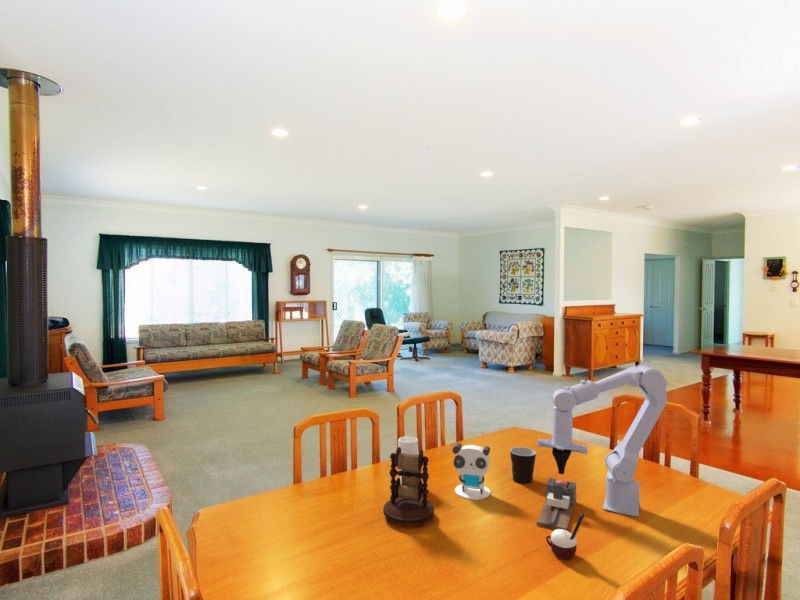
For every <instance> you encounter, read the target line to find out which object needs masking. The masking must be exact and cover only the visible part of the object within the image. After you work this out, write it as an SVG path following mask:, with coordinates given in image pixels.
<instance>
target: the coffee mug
mask: <svg viewBox="0 0 800 600" xmlns="http://www.w3.org/2000/svg"><path fill="white" fill-rule="evenodd" d="M509 451H510V452H509V455H510V463H511V473H512V480H513V482H515V483H517V484H520V483H521V485H529V484H531V482H532V483H533V477H534V471H535V463H536V456H537V452H536V451H535V450H534V449H532V448H530V447H525V446H516V447H512V448H510V450H509Z"/></svg>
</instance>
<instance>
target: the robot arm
mask: <svg viewBox="0 0 800 600" xmlns="http://www.w3.org/2000/svg"><path fill="white" fill-rule="evenodd" d="M579 382H580V383H577V384H574V385H572V386H569V385H568V386H565V389H563V388H559V389H557V390H555V391H554V392H553V393H552V396H551V401H552V403H553V410H552V438H551V439H542V438H538V439H537V441H536V442H537V443H536V445H537V446H536V447H537V448H549V449H552V451H551V453H552V456H553V458H554V460H555V462H556V465H557V470H558V474H560V475H564V474H565V470H566V466H567V462H568V460H569V458H570V457H571V454H572V452H573V453H578V454H583V455H588V450H589V446H587V445H582V444H578V443H575V442H573V418H574V417H573V409H574V407H575V406H579V405H582V404H585V403H587V402H590V401H593V400H597V399H598V397H599V395H600V393H602V392H603V393H604V392H606V391H610V390H614V389H616V388H619V387H624V386H626V385H627V386H630V387H631V386H632V387H636V388H640V390H641V392H642V394H643V397H644V398H645V399H644V401H643V403H642V405H641V407H640V408H639V410H638V412H637V414H636V416H635V417H634V420H633V421H632V423H631V425H630V427H629V428H628V430H627V431H626V434H625V435H624V437H623V439H622V441H621V443H620V444H618V445H616V446H615V447H614V449H613V450H611V452H610V453H608V454H607V455H606V456H605V458H604V462H605V466H606V468H607V469H608V471H607V473H606V475H605V476H606V477H605V480H606V481H605V498H604V502H603V507H602V508H603V510H604V511H608V512H613V513H617V514H623V515H628V516H633V517H640V513H639V512H640V508H641V500H640V489H641V487H640V485H641V483H640V481H636V480H634V478H635V476H636V468H637V466H638V463H639V461H638V458H639V456H638V455H639V453H640V451H641V450H642V448H643V446H644V445H645V443H646V441H647V440H648V437H649V436H650V434H651V432H652V430H653V429H654V427H655V425H656V423H657V421H658V419H659V418H660V416H661V414H662V412H663V411H664V408H665V407H666V405H667V403H668V398H667V386H668V382H667V380H666V378H665V376H664V375H663V373H662V372H661V371H660V370H657V369H655V368H653V367H651V366H650V365H649V364H645V363H642V364H638V365H636V366H630V367H628V368H626V369H623V370H622V371H619V372H617V373H614V374H611V375H609V376H606V377H605V378H602V379H600V380H597V381H591V380H589V379H587V380H585V379H582V380H580V381H579Z"/></svg>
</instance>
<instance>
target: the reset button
mask: <svg viewBox="0 0 800 600" xmlns="http://www.w3.org/2000/svg"><path fill="white" fill-rule="evenodd" d="M567 481H568V480H565V479H558V480H556V481H555V482H558V483H563V487H566V488H567V484H568V483H567Z"/></svg>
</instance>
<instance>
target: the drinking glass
mask: <svg viewBox="0 0 800 600" xmlns="http://www.w3.org/2000/svg"><path fill="white" fill-rule="evenodd" d="M398 447H400V448H401V453H408V454H417V455H419V439H418V438H417V437H415V436H411V435H410V436H408V435H406V436H405V435H404V436H401V437H399V438H398V440H397V448H398ZM399 471H401V469H399ZM399 478H400V482H401V485H402V476H399Z"/></svg>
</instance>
